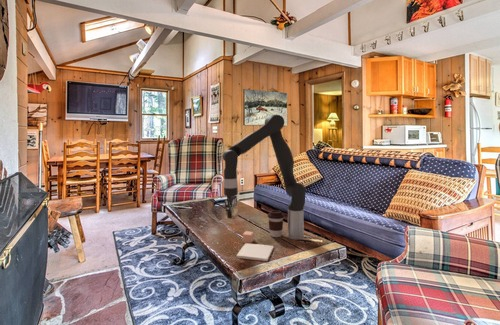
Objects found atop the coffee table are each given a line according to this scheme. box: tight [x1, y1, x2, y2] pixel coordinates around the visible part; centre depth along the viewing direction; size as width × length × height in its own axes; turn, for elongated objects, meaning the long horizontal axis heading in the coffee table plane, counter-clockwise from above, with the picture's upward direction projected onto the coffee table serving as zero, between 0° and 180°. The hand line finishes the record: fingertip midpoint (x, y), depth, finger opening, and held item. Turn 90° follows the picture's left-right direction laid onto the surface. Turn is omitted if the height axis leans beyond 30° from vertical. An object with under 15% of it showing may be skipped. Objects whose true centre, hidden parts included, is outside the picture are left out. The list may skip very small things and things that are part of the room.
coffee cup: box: [267, 209, 285, 238], centre depth 167 cm, size 10×10×15 cm
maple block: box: [224, 207, 239, 220], centre depth 151 cm, size 6×6×5 cm
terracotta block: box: [242, 230, 254, 244], centre depth 159 cm, size 5×5×5 cm
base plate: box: [236, 243, 274, 262], centre depth 144 cm, size 16×16×1 cm
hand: (231, 216), depth 151 cm, fingers closed on maple block, 5 cm apart
